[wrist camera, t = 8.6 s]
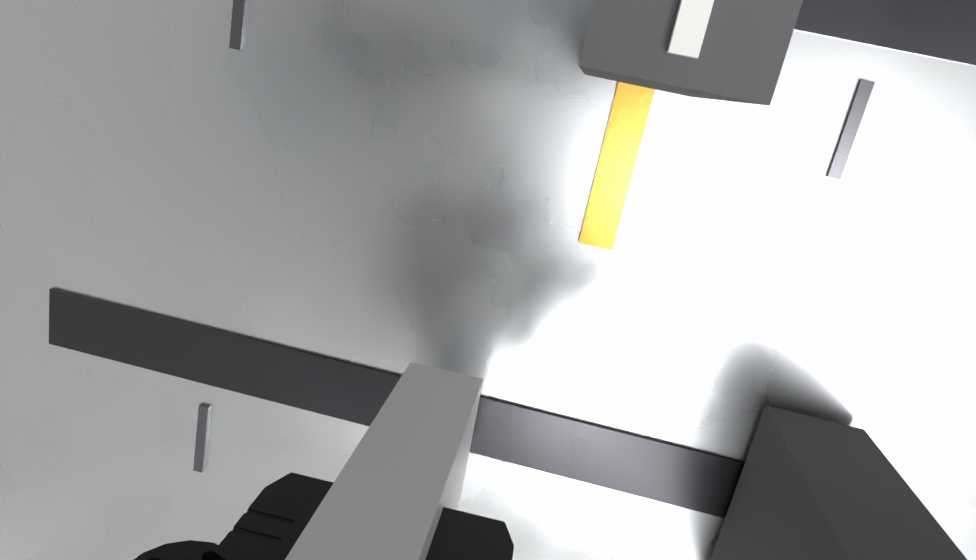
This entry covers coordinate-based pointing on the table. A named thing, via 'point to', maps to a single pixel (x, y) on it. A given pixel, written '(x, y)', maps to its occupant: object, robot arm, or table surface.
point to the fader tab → (825, 499)
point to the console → (469, 262)
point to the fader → (692, 45)
